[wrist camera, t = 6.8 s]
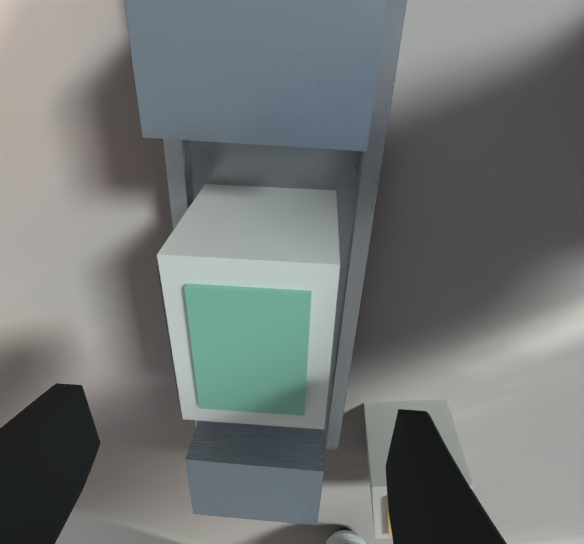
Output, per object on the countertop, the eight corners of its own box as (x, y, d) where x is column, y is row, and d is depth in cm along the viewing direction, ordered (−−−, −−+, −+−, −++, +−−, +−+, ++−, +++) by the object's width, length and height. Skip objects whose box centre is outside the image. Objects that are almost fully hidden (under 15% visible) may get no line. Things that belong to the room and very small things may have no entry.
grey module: (336, 190, 15) (340, 269, 10) (324, 329, 18) (324, 435, 13) (199, 183, 15) (145, 257, 11) (211, 321, 18) (174, 423, 14)
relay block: (446, 398, 21) (475, 492, 17) (442, 451, 23) (467, 545, 19) (363, 402, 22) (372, 493, 18) (367, 453, 24) (375, 545, 20)
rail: (406, -56, 12) (460, -98, 7) (337, 423, 23) (340, 537, 18) (159, -67, 12) (51, -115, 8) (203, 412, 23) (170, 521, 18)
